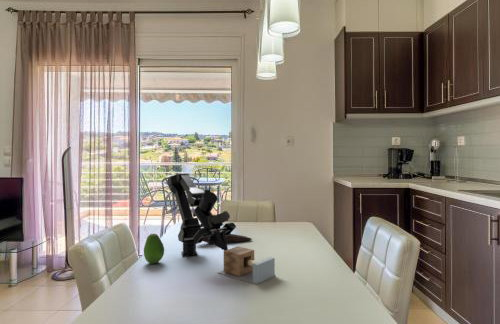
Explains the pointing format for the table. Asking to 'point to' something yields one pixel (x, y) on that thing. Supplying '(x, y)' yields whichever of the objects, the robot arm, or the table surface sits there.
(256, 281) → the gray angle bracket
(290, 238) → the table surface
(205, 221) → the robot arm
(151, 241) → the fruit
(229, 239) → the stone
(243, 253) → the walnut block
